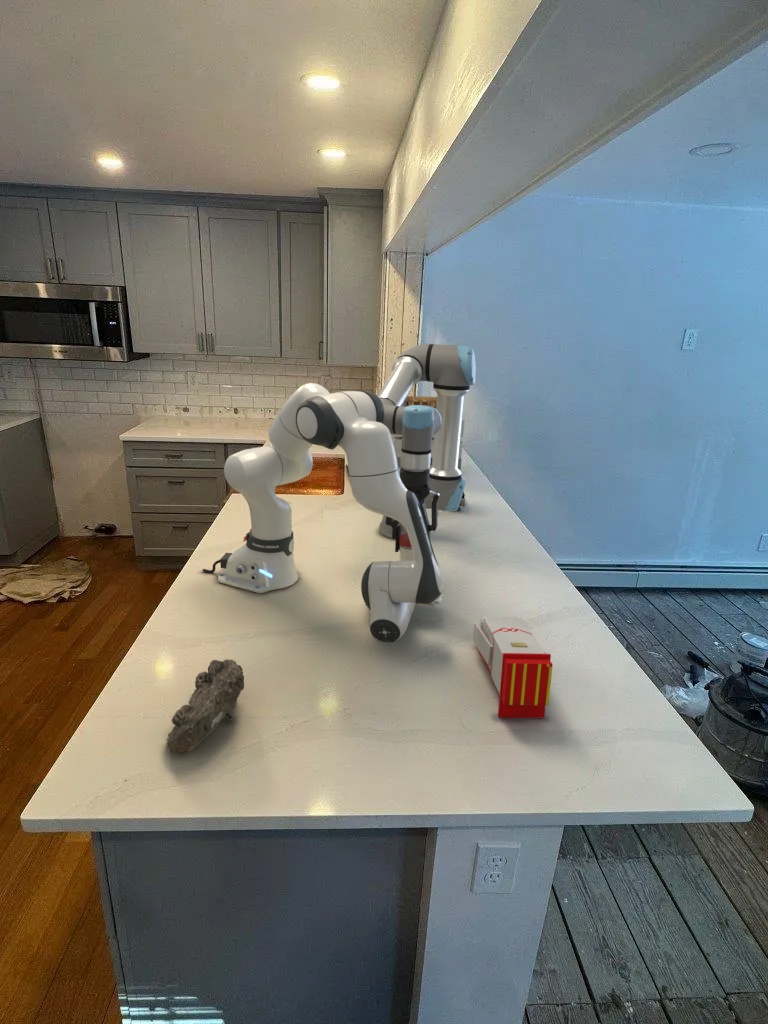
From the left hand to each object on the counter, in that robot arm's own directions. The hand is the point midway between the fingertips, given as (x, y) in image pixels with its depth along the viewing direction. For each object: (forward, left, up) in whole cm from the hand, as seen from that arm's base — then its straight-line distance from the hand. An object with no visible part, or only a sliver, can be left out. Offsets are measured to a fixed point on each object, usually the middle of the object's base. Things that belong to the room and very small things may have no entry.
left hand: (408, 575), depth 154 cm
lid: (0, -1, +11) cm, 11 cm away
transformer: (-17, +125, -6) cm, 126 cm away
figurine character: (+5, +81, -6) cm, 81 cm away
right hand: (0, -1, +8) cm, 8 cm away
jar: (0, -1, -6) cm, 6 cm away
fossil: (-27, -58, -6) cm, 65 cm away
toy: (+27, -29, -6) cm, 41 cm away
